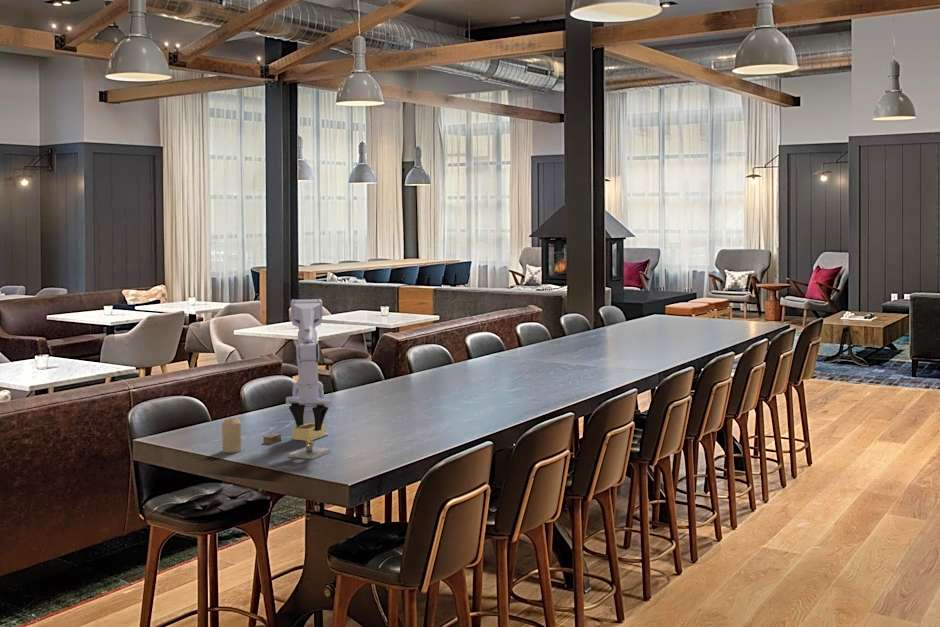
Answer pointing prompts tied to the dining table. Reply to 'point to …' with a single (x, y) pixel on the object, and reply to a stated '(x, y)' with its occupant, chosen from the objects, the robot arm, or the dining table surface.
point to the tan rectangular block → (272, 438)
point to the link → (307, 432)
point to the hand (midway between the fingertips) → (309, 429)
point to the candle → (231, 435)
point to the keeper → (309, 451)
